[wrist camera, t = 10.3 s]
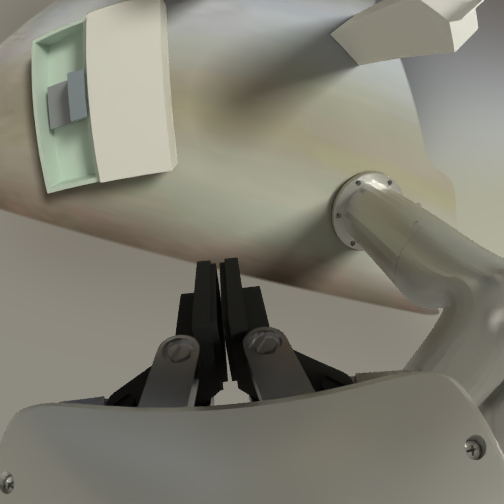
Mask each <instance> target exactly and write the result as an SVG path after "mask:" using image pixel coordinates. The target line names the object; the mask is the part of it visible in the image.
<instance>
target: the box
mask: <svg viewBox="0 0 504 504" xmlns="http://www.w3.org/2000/svg"><path fill="white" fill-rule="evenodd" d="M86 22H87V17H85V18H82V19H80V20H77V21H74V22H72V23H69V24H67V25H65V26H62V27H60V28H58V29H55V30H53V31H51V32H49V33H47V34H45V35H43V36H41V37H39V38H37V39H35V40H33V41H32V94H33V108H34V118H35V127H36V135H37V142H38V148H39V154H40V160H41V166H42V171H43V176H44V180H45V185H46V189H47V193H52V192H56V191H60V190H64V189H68V188H72V187H77V186H81V185H86V184H90V183H95V182H100V177H99V172H98V166H97V160H96V154H95V148H94V141H93V134H92V126H91V118H90V108H89V97H88V84H87V63H86ZM82 69H83V70H84V88H85V101H86V111H87V119H83V120H81V121H79V122H76V123H72V124H69V125H66V126H63V127H59V128H56V129H51V127H50V117H49V106H48V90H47V88H48V87H50V86H53V85H55V84H58V83H61V82H63V81H66V80H67V73H70V72H74V71H78V70H82Z"/></svg>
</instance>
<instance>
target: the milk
mask: <svg viewBox="0 0 504 504" xmlns="http://www.w3.org/2000/svg"><path fill="white" fill-rule="evenodd" d="M483 1H484V0H384V1H382V2H380V3H377V4H375V5H373V6H371V7H369V8H367V9H365V10H363V11H362V12H360V13H358V14H356V15H354V16H353V17H352V18H350V19H349V20H348V21H346V22H345V23H344V24H342V25H341V26H340V27H339V28H337V29H336V30H335V31H333V32H332V33H331V34H330V35H331V36H332V37H333V38H334V39H335V40H336V41H337V42H338V43H339V44H340V45H341V46H342V47H343V48H344V49H345V50H346V52H347V53H348V54H349V55H350V56H351V57H352V58H353V59H354V60H355V62H356V63H357V64H358V65H364V64H369V63H374V62H379V61H385V60H391V59H397V58H404V57H411V56H419V55H429V54H440V53H454V52H456V51H457V50H458V48H460V46H462V45H463V44H464V42H466V40H467V39H468V38H469V37H470V36H471V35H472V34H473V33H474V32H475V31H476V30H477V29H478V23H477V16H476V9H475V8H476V7H477V6H478V5H480V4H481V3H482V2H483Z"/></svg>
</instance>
